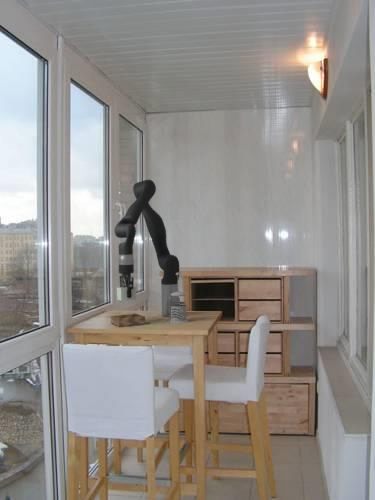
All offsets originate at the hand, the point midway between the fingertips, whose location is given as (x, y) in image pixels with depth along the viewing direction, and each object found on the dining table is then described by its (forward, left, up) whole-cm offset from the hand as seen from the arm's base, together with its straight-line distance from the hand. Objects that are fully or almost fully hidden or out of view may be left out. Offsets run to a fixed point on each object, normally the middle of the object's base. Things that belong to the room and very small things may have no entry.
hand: (126, 297), depth 273 cm
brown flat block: (0, 0, -14) cm, 14 cm away
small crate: (0, 0, -1) cm, 1 cm away
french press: (-24, +7, -14) cm, 29 cm away
